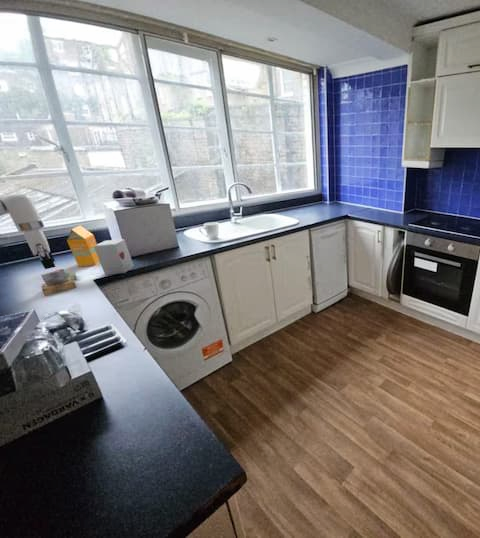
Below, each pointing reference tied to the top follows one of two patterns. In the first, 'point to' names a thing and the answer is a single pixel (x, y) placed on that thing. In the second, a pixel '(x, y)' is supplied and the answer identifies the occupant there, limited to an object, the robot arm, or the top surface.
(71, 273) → the button box
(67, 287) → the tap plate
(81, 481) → the top surface
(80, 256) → the orange juice
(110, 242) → the white product box
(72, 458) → the top surface
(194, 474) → the top surface
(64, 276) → the grey tan flat block
